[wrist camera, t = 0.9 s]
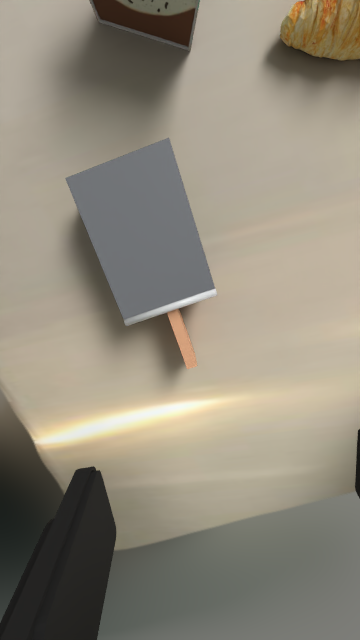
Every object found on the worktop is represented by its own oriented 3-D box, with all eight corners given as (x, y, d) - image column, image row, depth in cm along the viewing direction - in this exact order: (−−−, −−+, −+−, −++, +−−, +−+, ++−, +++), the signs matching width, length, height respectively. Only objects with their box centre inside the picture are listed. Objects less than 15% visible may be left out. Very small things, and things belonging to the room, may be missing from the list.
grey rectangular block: (170, 163, 26) (168, 136, 21) (209, 289, 30) (217, 295, 24) (87, 195, 27) (64, 177, 21) (135, 315, 30) (126, 326, 25)
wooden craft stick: (142, 203, 26) (136, 193, 23) (194, 353, 31) (197, 365, 27) (132, 207, 27) (125, 198, 23) (186, 356, 31) (187, 369, 27)
